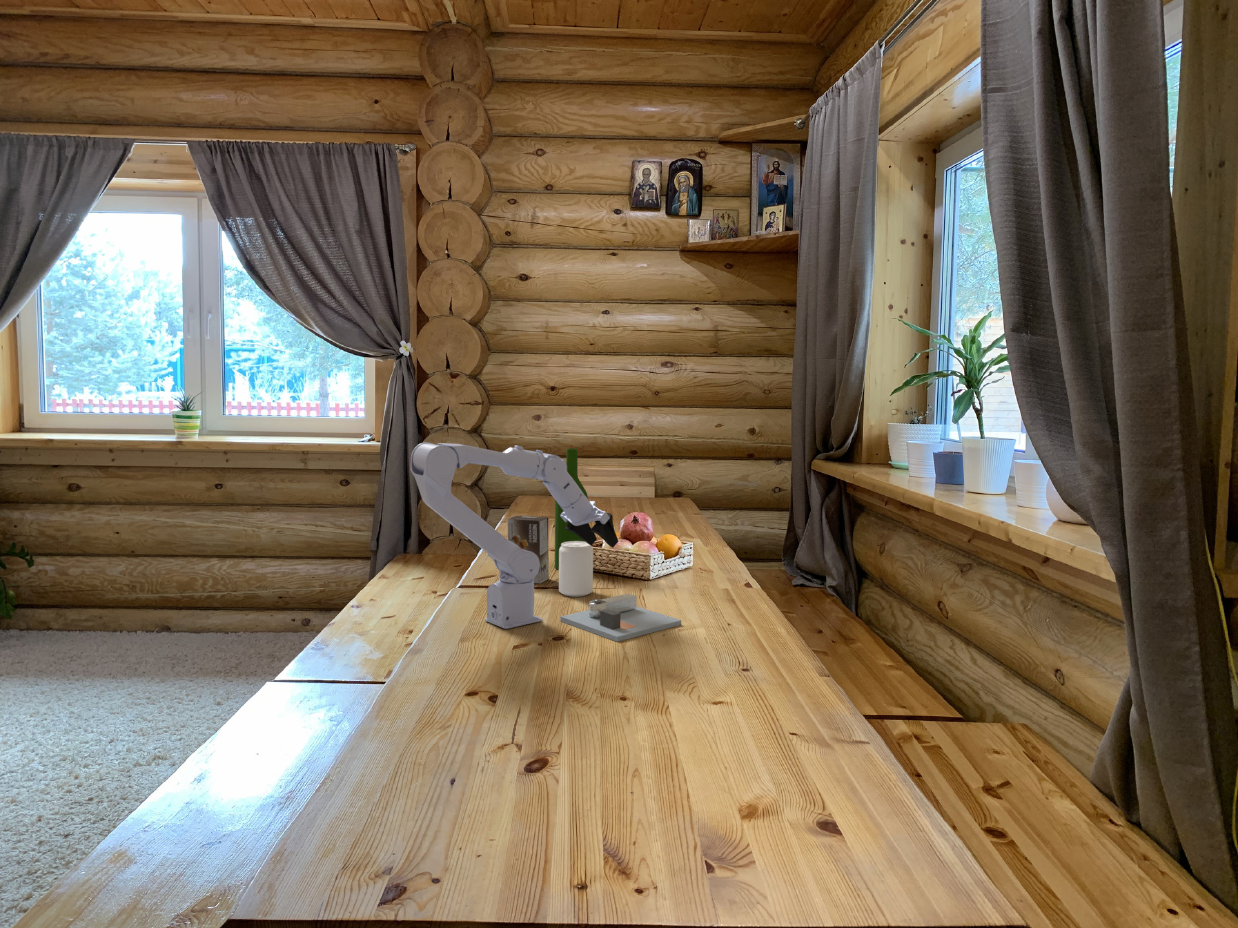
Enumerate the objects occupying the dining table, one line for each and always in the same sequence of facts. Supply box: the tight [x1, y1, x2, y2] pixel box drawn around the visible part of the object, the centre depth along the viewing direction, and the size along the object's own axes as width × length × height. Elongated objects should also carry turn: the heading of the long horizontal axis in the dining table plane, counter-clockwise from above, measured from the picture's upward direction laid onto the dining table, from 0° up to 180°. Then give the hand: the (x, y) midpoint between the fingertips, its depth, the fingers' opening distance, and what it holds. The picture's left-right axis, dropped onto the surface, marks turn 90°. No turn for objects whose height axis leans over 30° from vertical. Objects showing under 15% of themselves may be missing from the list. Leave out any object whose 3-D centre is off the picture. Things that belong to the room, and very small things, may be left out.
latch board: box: [559, 605, 682, 643], centre depth 170 cm, size 18×18×4 cm
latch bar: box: [588, 593, 638, 618], centre depth 174 cm, size 12×4×3 cm, turn 132°
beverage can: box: [558, 541, 594, 598], centre depth 194 cm, size 8×8×12 cm
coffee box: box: [507, 515, 550, 584], centre depth 206 cm, size 9×6×16 cm
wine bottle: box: [554, 448, 589, 571], centre depth 220 cm, size 9×9×32 cm
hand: (604, 543), depth 181 cm, fingers open, 7 cm apart
